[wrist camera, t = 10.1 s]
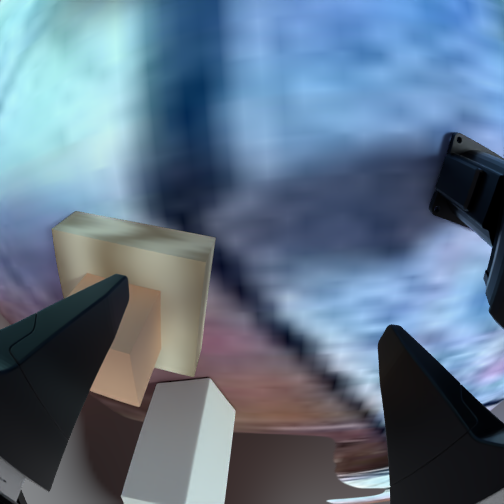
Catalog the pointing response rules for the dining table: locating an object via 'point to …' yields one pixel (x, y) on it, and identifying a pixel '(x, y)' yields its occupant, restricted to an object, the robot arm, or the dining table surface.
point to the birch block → (144, 274)
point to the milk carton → (182, 446)
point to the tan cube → (130, 345)
